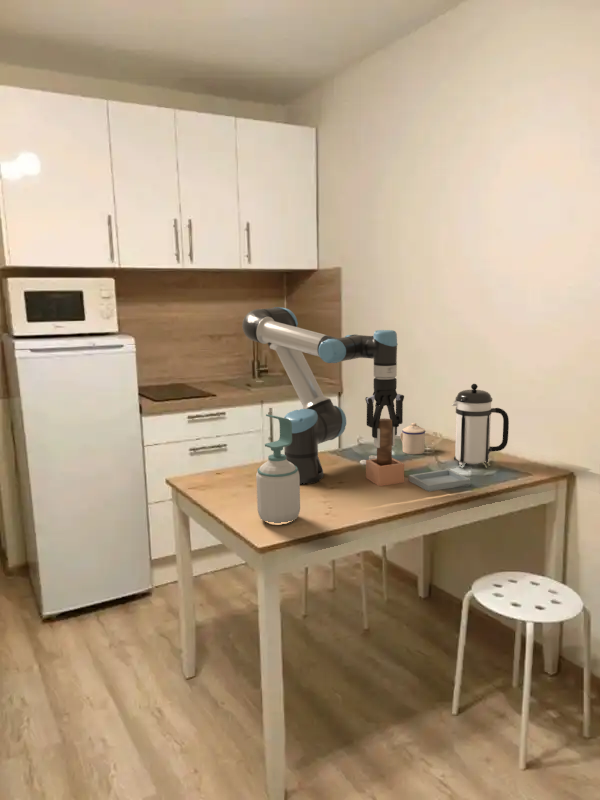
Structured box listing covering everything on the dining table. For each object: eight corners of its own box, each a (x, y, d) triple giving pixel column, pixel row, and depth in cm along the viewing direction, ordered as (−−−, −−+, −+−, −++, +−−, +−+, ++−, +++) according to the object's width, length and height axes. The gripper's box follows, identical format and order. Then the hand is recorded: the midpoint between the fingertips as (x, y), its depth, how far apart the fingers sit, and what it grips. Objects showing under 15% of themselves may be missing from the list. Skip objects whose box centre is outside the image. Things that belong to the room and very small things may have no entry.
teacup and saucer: (356, 465, 227) (356, 455, 227) (374, 462, 231) (374, 451, 230) (370, 471, 220) (370, 460, 219) (388, 468, 223) (388, 457, 223)
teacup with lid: (430, 452, 241) (430, 423, 239) (412, 456, 236) (413, 427, 234) (409, 445, 251) (409, 418, 249) (392, 449, 246) (392, 421, 244)
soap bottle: (249, 519, 177) (244, 414, 171) (282, 508, 185) (279, 407, 179) (275, 532, 168) (271, 421, 162) (309, 520, 175) (307, 414, 169)
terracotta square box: (379, 487, 201) (379, 467, 200) (365, 479, 210) (365, 459, 208) (403, 483, 205) (404, 463, 203) (390, 475, 213) (390, 456, 212)
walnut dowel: (381, 472, 203) (381, 422, 200) (374, 467, 208) (374, 419, 205) (394, 470, 205) (395, 420, 202) (387, 466, 210) (387, 417, 206)
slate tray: (428, 493, 195) (428, 485, 194) (408, 482, 206) (408, 475, 206) (470, 486, 201) (470, 479, 200) (448, 475, 212) (449, 469, 211)
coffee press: (477, 473, 214) (480, 389, 208) (442, 463, 226) (444, 383, 221) (508, 464, 224) (511, 383, 218) (472, 454, 236) (475, 378, 231)
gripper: (365, 381, 194) (365, 451, 198) (414, 377, 200) (413, 445, 205) (355, 377, 201) (355, 446, 205) (403, 374, 207) (402, 440, 212)
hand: (384, 445), depth 205 cm, fingers closed on walnut dowel, 5 cm apart
